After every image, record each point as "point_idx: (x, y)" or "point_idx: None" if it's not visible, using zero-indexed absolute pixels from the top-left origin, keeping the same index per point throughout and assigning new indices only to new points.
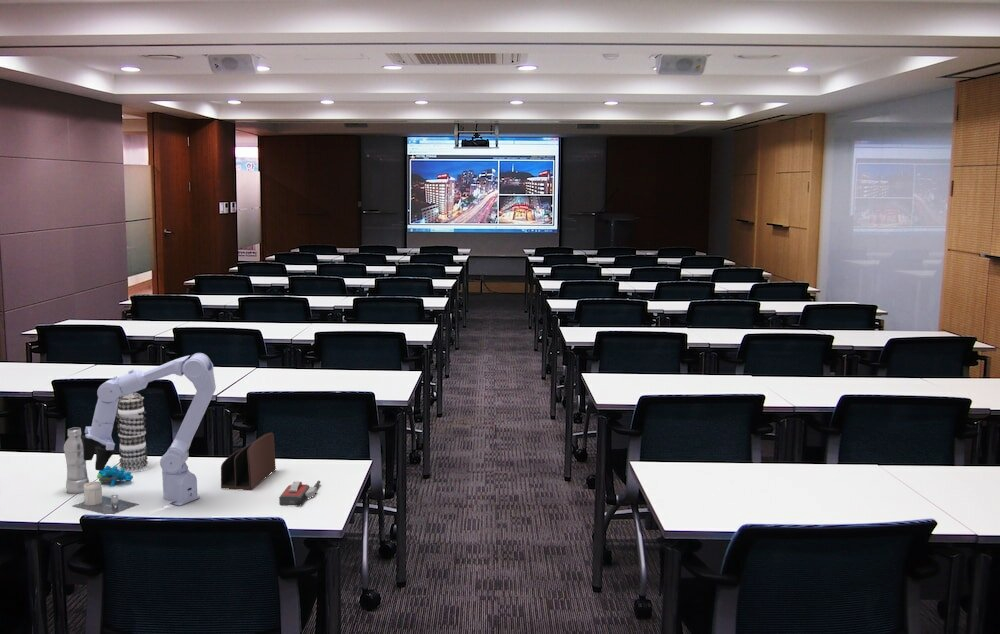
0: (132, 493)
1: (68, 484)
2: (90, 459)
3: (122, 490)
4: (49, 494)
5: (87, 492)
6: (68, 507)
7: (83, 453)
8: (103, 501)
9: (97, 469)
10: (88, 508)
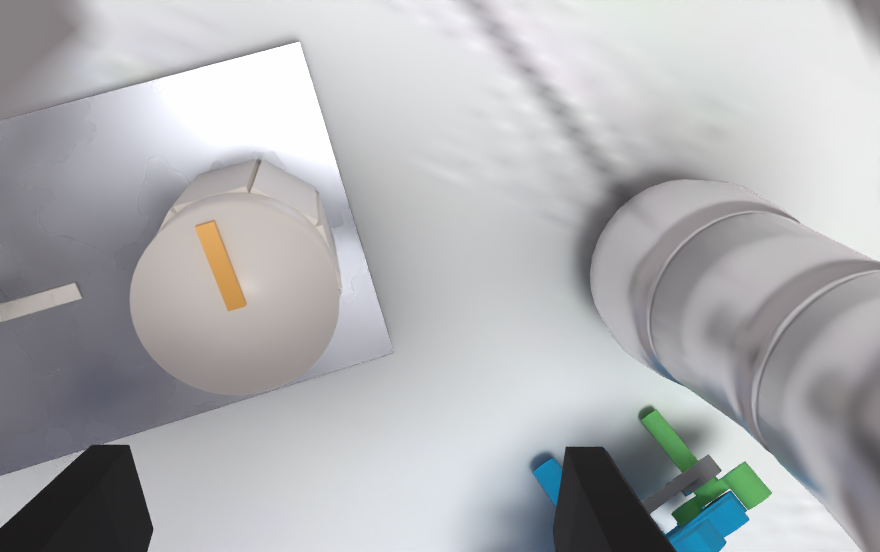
0: (335, 547)
1: (708, 197)
2: (556, 528)
3: (461, 516)
4: (829, 80)
5: (187, 201)
6: (382, 47)
7: (656, 525)
8: None
9: (80, 466)
10: (95, 131)
